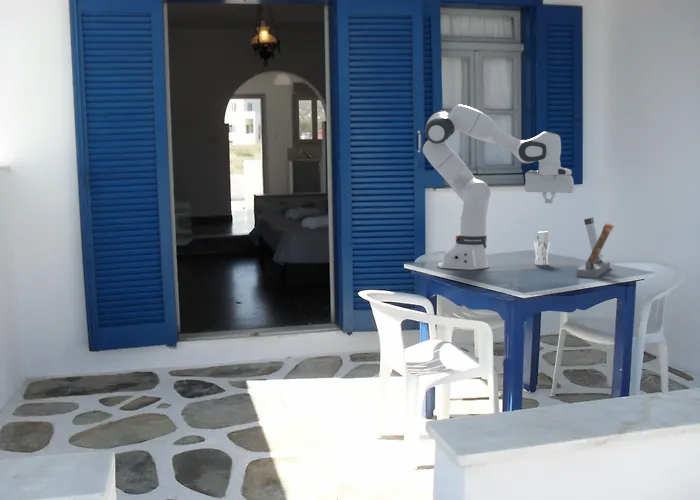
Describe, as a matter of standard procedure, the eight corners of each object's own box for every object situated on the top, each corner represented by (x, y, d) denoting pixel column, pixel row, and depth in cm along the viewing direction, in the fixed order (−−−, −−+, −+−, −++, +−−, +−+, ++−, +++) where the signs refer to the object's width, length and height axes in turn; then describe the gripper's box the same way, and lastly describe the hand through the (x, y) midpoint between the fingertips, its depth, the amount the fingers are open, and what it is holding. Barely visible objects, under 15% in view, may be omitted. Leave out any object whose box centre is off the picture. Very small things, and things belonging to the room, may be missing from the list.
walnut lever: (584, 266, 307) (605, 224, 302) (586, 264, 312) (607, 222, 306) (590, 269, 306) (611, 227, 300) (593, 267, 311) (613, 225, 305)
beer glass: (549, 265, 336) (550, 232, 334) (533, 265, 337) (534, 232, 335) (548, 263, 343) (549, 231, 341) (533, 263, 344) (534, 230, 342)
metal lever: (594, 263, 323) (583, 219, 323) (596, 261, 328) (586, 218, 328) (600, 261, 322) (590, 218, 322) (603, 260, 326) (592, 217, 326)
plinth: (576, 276, 306) (576, 262, 305) (591, 266, 332) (591, 253, 332) (596, 278, 302) (597, 263, 302) (609, 268, 328) (610, 254, 328)
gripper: (523, 170, 319) (522, 202, 321) (572, 170, 309) (571, 204, 311) (527, 170, 324) (526, 202, 326) (575, 170, 315) (574, 203, 316)
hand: (548, 203), depth 318 cm, fingers closed
